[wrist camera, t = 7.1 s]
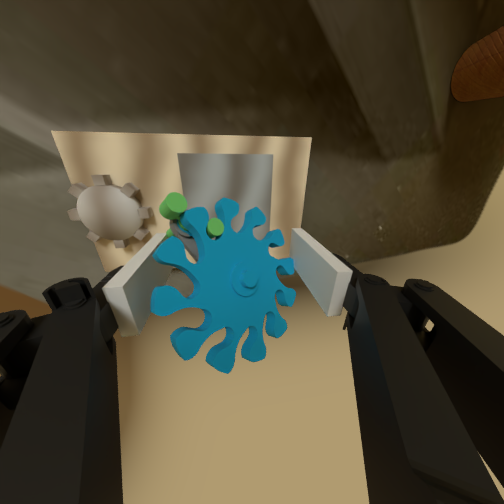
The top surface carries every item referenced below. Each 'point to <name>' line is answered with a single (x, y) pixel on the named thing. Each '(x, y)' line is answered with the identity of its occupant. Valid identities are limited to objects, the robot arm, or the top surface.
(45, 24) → the top surface
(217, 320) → the gear
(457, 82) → the disposable coffee cup
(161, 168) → the carrier board
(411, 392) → the robot arm
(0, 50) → the top surface
